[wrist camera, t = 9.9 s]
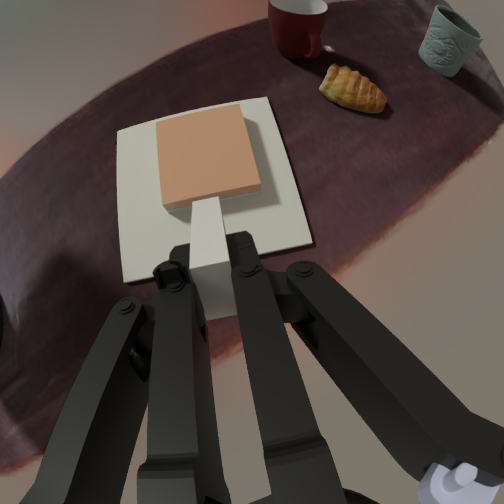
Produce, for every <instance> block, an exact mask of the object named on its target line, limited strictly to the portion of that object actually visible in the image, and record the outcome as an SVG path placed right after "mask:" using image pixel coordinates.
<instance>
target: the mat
mask: <svg viewBox="0 0 504 504" xmlns="http://www.w3.org/2000/svg"><path fill="white" fill-rule="evenodd" d="M234 104H240V107H241V111H242V115H243V118H244V122H245V125H246V129H247V133H248V136H249V140H250V144H251V148H252V151H253V155H254V159H255V163H256V167H257V170H258V174H259V178H260V182H261V191H260V194H255V195H250V196H245V197H240V198H235V199H230V200H226V201H221V202H220V206H221V211H222V215H223V220H224V225H225V230H226V234H231V233H236V232H241V231H247V232H249V233H250V234H251V235H252V237H253V240H254V243H255V246H256V249H257V252H258V255H262V254H267V253H271V252H276V251H281V250H285V249H290V248H295V247H299V246H304V245H309V244H312V239H311V235H310V231H309V228H308V224H307V221H306V217H305V214H304V210H303V207H302V203H301V200H300V197H299V193H298V190H297V187H296V183H295V180H294V177H293V173H292V170H291V167H290V164H289V161H288V158H287V155H286V151H285V148H284V145H283V142H282V139H281V136H280V133H279V130H278V127H277V124H276V121H275V119H274V116H273V113H272V110H271V107H270V104H269V102H268V99H267V97H262V98H255V99H249V100H242V101H236V102H231V103H225V104H220V105H215V106H210V107H205V108H200V109H196V110H191V111H187V112H183V113H179V114H175V115H171V116H167V117H163V118H159V119H156V120H152V121H149V122H145V123H142V124H139V125H135V126H132V127H129V128H126V129H123V130H120V131H118V133H117V203H118V223H119V238H120V250H121V260H122V270H123V278H124V282H125V283H129V282H133V281H138V280H143V279H148V278H153V277H154V276H153V274H152V272H153V270H154V268H155V267H156V266H157V265H159V264H160V263H162V262H164V261H167V260H169V255H170V252H171V250H172V249H173V248H174V246H178V245H183V244H187V243H190V238H191V217H192V208H189V209H185V210H181V211H176V212H172V213H168V212H167V211H166V209H165V208H164V207H163V205H162V198H161V188H160V178H159V166H158V153H157V137H156V122H158V121H162V120H166V119H170V118H173V117H177V116H182V115H186V114H190V113H194V112H199V111H203V110H208V109H213V108H218V107H223V106H229V105H234Z"/></svg>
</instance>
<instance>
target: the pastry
mask: <svg viewBox="0 0 504 504" xmlns="http://www.w3.org/2000/svg"><path fill="white" fill-rule="evenodd" d="M319 90H320V92H321V93H322V94H323V95H324V96H325V97H326V98H327V99H328V100H330V101H331V102H335V103H337V104H339V105H340V106H343V107H346V108H350V109H353V110H357V111H361V112H365V113H380V112H382V111H383V109H384V107H385V104H386V102H387V98H386V97H385V96H384V94H383V92H382V91H381V90H380V89H379V88H378V87H377V85H375V84H373V83H371V82H370V80H369V79H368V78H367V77H363V76H362V75H361V74H360V73H359V72H358V71H352V70H350V68H349V67H347V66H343V67H338V66H337V65H336V64H332V65H331V66H330V68H329V69H328V71H327V75H326V76H325V79H324V81H323V83H322V85H320V87H319Z"/></svg>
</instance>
